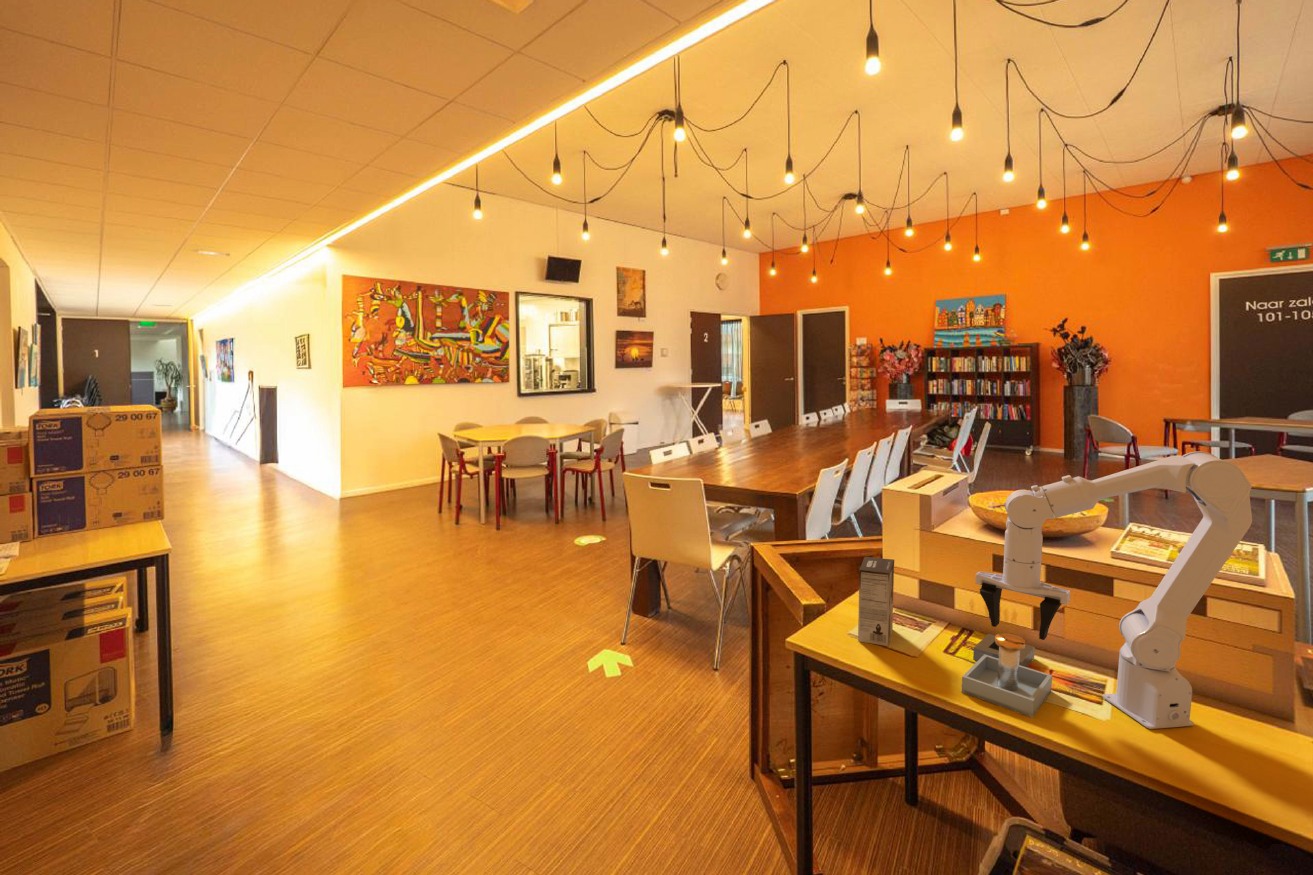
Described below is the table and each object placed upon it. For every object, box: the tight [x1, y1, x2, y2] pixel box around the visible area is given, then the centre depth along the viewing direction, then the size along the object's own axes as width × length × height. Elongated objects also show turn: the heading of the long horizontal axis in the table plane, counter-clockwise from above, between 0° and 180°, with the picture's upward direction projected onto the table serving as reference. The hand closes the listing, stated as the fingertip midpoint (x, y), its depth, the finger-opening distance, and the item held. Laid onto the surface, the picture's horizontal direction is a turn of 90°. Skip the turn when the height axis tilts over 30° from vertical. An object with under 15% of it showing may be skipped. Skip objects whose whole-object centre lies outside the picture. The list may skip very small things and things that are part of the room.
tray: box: [961, 654, 1053, 719], centre depth 109 cm, size 11×11×3 cm
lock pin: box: [995, 632, 1026, 691], centre depth 109 cm, size 5×5×9 cm
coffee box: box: [857, 556, 895, 647], centre depth 131 cm, size 9×6×16 cm
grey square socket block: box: [972, 633, 1036, 668], centre depth 120 cm, size 8×8×2 cm
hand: (1018, 631), depth 110 cm, fingers open, 7 cm apart
